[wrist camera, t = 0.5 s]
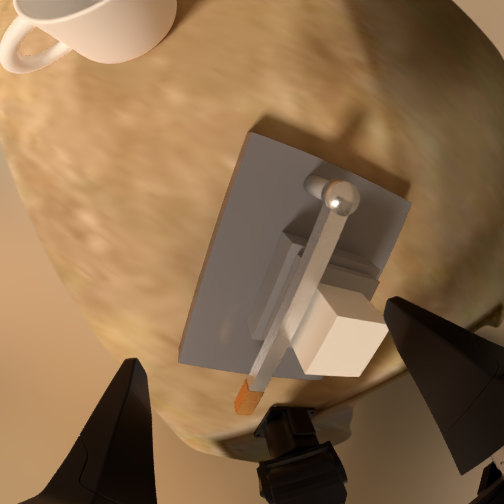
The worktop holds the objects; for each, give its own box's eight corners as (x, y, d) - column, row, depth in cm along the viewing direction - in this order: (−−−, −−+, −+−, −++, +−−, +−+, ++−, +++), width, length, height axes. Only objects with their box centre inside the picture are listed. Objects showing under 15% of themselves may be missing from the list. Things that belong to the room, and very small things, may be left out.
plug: (324, 328, 26) (362, 388, 19) (255, 316, 24) (279, 385, 17) (357, 262, 24) (412, 311, 17) (286, 240, 22) (329, 293, 15)
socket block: (315, 368, 31) (333, 405, 25) (178, 348, 26) (177, 393, 21) (398, 197, 25) (440, 214, 19) (247, 132, 21) (264, 130, 15)
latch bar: (252, 404, 23) (255, 415, 22) (229, 402, 22) (231, 413, 21) (354, 185, 17) (365, 189, 16) (327, 173, 17) (337, 177, 15)
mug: (62, 116, 17) (-19, 111, 8) (29, 46, 14) (-43, 18, 4) (196, 30, 17) (198, -41, 7) (152, -34, 13) (135, -108, 4)
